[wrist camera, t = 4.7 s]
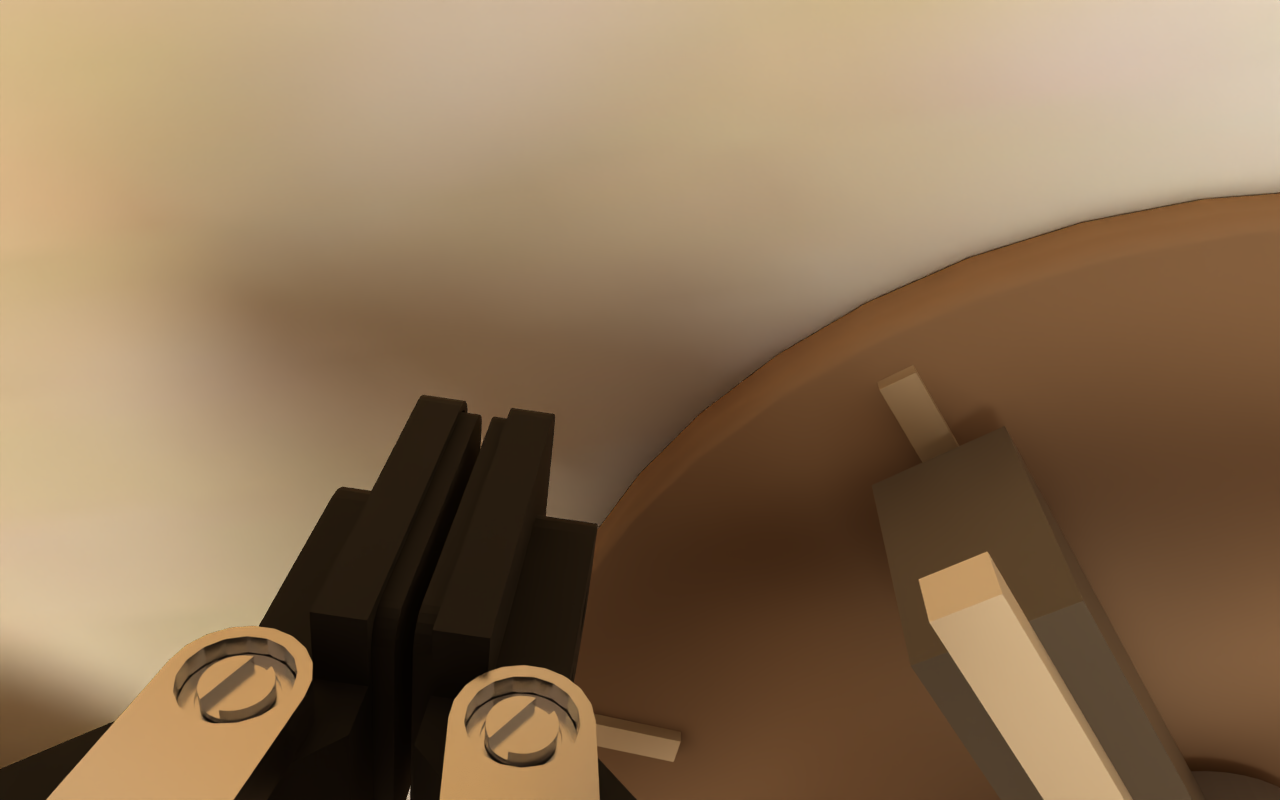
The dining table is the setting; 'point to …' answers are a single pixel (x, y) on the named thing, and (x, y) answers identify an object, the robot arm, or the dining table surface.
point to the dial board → (918, 431)
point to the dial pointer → (1024, 639)
